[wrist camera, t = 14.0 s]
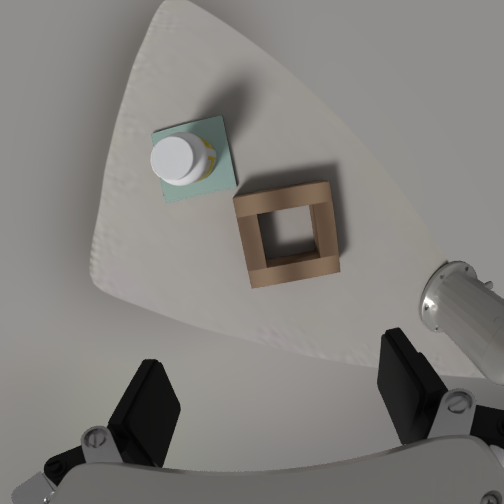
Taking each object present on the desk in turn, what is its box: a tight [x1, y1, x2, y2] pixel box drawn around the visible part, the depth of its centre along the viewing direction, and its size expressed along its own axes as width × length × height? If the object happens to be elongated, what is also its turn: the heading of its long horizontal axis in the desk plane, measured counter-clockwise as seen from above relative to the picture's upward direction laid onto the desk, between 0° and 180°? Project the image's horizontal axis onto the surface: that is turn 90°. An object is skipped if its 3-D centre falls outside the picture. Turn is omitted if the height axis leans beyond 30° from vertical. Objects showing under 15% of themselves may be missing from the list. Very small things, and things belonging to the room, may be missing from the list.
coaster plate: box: [151, 115, 237, 203], centre depth 33 cm, size 9×9×1 cm
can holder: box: [233, 180, 340, 288], centre depth 34 cm, size 11×11×3 cm
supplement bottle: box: [151, 132, 217, 186], centre depth 28 cm, size 5×5×10 cm
